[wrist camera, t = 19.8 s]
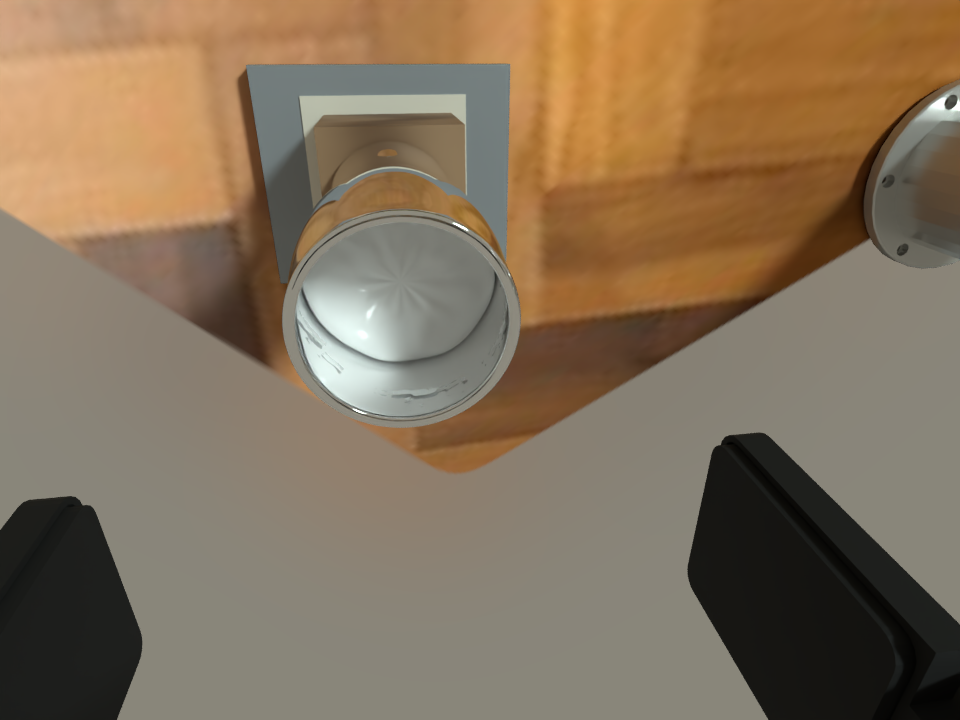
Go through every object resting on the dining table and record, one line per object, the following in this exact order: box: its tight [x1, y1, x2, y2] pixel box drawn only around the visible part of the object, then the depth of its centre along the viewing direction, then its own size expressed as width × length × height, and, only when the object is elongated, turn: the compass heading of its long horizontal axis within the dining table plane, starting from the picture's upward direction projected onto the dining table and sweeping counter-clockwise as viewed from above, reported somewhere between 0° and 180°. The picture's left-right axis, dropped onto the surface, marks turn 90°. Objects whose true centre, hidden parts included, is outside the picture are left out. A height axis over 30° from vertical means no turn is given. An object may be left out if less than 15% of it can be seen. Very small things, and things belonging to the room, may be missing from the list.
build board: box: [246, 64, 510, 283], centre depth 36 cm, size 14×12×1 cm
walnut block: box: [314, 113, 466, 197], centre depth 32 cm, size 7×7×6 cm
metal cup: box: [282, 141, 521, 428], centre depth 23 cm, size 7×7×15 cm
